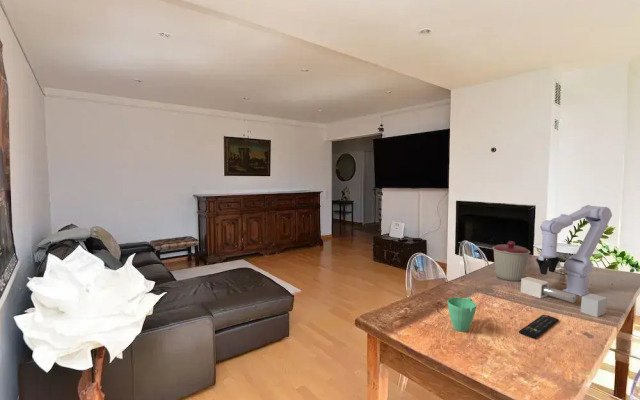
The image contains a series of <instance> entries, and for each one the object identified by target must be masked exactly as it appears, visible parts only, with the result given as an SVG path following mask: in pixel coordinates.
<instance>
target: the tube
mask: <svg viewBox="0 0 640 400" xmlns="http://www.w3.org/2000/svg"><path fill="white" fill-rule="evenodd" d="M519 285H520V286H521V282H520V284H519ZM542 293H543V294H546V295H547V296H550V297H553V298H557V299H560V300H563V301H567V302H569V303H573V304H575V303H576V302H577V296H578V295H576V294H572V293H569V292H565V291H563V290H559V289H556V288H554V287H553V288H552V287H549V286H548V287H546V286H542Z"/></svg>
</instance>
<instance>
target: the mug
mask: <svg viewBox="0 0 640 400" xmlns="http://www.w3.org/2000/svg"><path fill="white" fill-rule="evenodd" d="M447 308H448V309H447V310H448V313H449V317H450V321H451V323H452V324H451V325H452V326H453V329H454V330H455V331H458V332H461V333H466V332H468V331H469V329H470V327H471V324H472V322H473V320H474V317H475V314H476V309H477V303H476V302H474V301H473V298H471V297H465V298H464V297H463V298H462V297H451V298H448V299H447Z"/></svg>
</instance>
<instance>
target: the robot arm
mask: <svg viewBox="0 0 640 400" xmlns="http://www.w3.org/2000/svg"><path fill="white" fill-rule="evenodd" d="M612 217H613V213H612V211H611V209H610V208H609V207H608V206H597V205H590V204H587V205H584V206H581V208H580V209H578V210H576V211H574V212H572V213H570V214H566V213H561V214H560V215H559V216H558V217H553V218H551V219H549V220H548V219H546V220H544V221H542V222H541V224H540V226H539V228H540V230H541V235H542V244H541V252H538V254H539V255H538V257H537V258H536V259H535V261H536V263H537V264H538V267H539V272H540V274H541V275H545V276H546V275H547V274H548V272H550V273H555V271H556V269H557V266H558V264H559V262H560V261H561V260H562V259H561V258H560V257H559V252H557V247H558V234H559V233H561V232H562V230H563V229H565V228H568V227H570V226H572V225H573V224H574V222H576V221H579V220H581V219H584V220H586V222H587V223H588V224H589V225H590V227H589V229H588V231H587V233H586V234H585V237H584V238H583V240H582V242H581V244H580V246H579V248H578V249H577V252H576V253H575V254H572V255H569V257H568V259H566V260H565V262H564V263H563V268H564V270H565V271H566V273H567V277H566V288H564V289H562V291H564V292H567V293H571V294H574V295H576V296H579V297H582V296H585V295H587V294H590V293H591V291H589V283H590V281H589V276H590V275H591V273H592V270H593V266H594V263H593V262H592V260H591V257H592V255H593V253H594V251H595V250H596V248H597V246H598V244H599V242H600V240H601V238H602V236H603V234H604V233H605V231H606V229H607V227H608V225H609V222H610V220H611V218H612Z"/></svg>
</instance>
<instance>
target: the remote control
mask: <svg viewBox="0 0 640 400" xmlns="http://www.w3.org/2000/svg"><path fill="white" fill-rule="evenodd" d="M559 321H560V319H559V318H556V317H554V316H551V315H548V314H542V315H540V316H539V317H538V318H536V319H535V320H533V321H532V322H530V323H529V324H527V325H525V326H524V327H523V328H521V329H519V331H518V334H519V335H523V336H526V337H527V338H530V339H532V340H536V339H538V338H539V337H540V336H541V335H543V334H544V333H545V332H547V331H548V330H549V329H551V328H552V327H553V326H555V325H556V324H557V323H558V322H559Z"/></svg>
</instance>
